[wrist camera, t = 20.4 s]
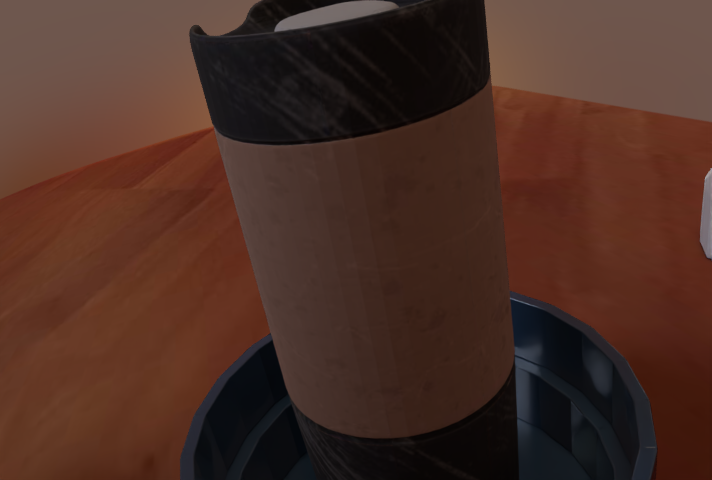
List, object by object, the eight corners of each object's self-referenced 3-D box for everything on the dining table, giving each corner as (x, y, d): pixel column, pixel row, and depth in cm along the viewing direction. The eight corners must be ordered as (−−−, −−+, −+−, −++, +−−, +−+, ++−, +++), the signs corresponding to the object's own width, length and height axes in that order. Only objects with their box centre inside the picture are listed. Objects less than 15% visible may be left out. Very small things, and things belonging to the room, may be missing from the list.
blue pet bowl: (159, 567, 27) (100, 446, 24) (410, 359, 36) (392, 251, 33) (471, 939, 16) (439, 808, 13) (719, 506, 25) (738, 365, 22)
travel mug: (568, 571, 23) (549, -26, 14) (366, 657, 22) (192, 58, 12) (473, 429, 30) (417, -38, 20) (314, 487, 28) (175, 15, 19)
